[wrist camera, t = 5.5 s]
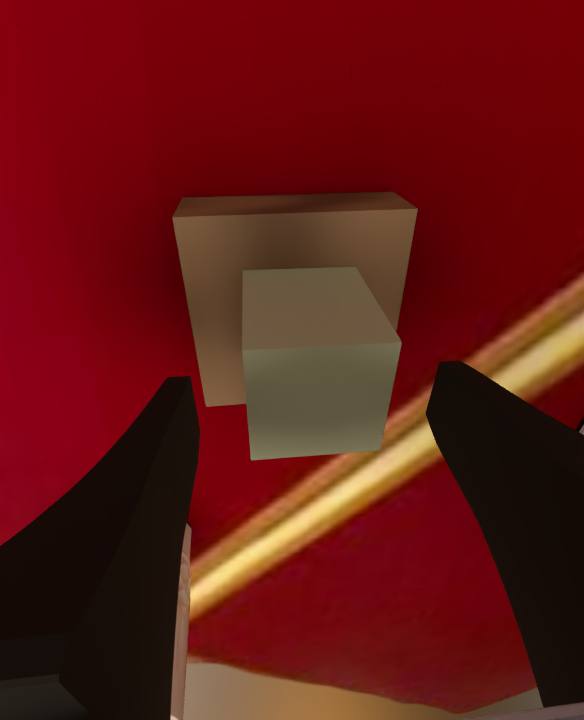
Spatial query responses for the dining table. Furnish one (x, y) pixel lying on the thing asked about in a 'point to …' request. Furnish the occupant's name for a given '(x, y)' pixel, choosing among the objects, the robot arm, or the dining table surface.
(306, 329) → the green block
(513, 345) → the dining table surface
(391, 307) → the walnut base
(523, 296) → the dining table surface
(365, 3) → the dining table surface
